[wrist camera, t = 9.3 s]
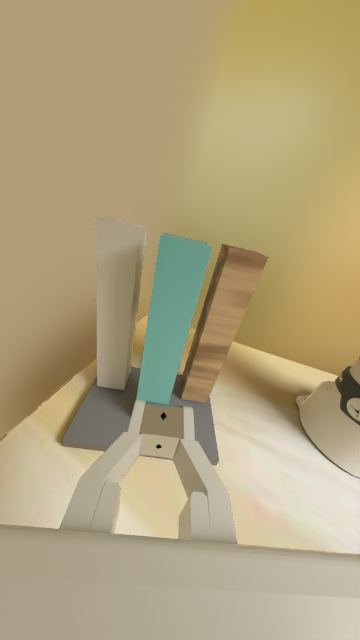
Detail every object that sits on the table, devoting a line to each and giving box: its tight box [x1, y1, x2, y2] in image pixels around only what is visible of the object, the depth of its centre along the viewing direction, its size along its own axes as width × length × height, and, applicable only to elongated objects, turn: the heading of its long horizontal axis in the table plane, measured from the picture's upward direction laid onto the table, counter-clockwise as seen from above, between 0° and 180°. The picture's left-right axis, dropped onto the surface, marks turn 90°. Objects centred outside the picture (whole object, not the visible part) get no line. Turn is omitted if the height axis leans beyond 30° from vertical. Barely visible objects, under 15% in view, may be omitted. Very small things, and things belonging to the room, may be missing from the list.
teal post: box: [136, 233, 212, 404], centre depth 26 cm, size 5×5×28 cm
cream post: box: [96, 217, 147, 390], centre depth 30 cm, size 5×5×28 cm
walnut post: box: [181, 244, 268, 403], centre depth 31 cm, size 5×5×28 cm
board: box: [62, 367, 219, 465], centre depth 34 cm, size 16×23×2 cm
